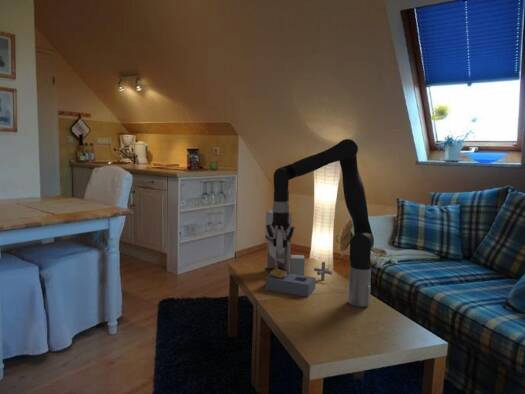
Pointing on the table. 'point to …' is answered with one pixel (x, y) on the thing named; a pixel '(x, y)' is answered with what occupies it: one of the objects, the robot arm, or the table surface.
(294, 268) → the supplement box
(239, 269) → the table surface
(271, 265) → the display case
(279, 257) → the steel pin
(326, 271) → the pipe connector
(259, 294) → the table surface
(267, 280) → the pin block
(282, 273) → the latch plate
